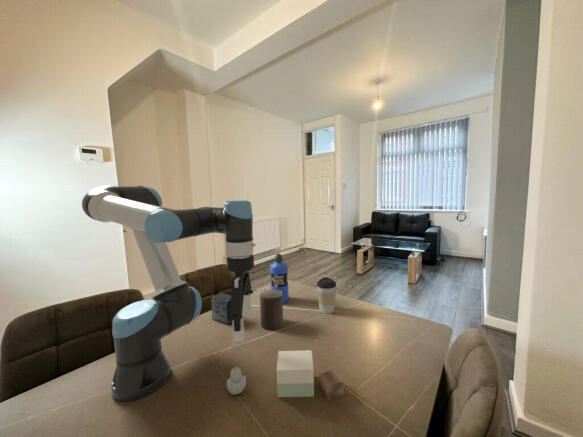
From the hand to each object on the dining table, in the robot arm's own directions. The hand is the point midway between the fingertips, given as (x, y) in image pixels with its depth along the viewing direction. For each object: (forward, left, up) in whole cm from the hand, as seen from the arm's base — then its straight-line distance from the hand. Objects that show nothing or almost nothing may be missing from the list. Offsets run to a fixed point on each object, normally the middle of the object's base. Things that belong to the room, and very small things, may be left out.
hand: (243, 326), depth 70 cm
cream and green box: (+15, -2, -17) cm, 23 cm away
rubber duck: (-2, -3, -18) cm, 18 cm away
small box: (-17, +37, -18) cm, 45 cm away
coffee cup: (+30, +43, -18) cm, 56 cm away
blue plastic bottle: (+7, +55, -18) cm, 59 cm away
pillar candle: (+5, +32, -18) cm, 37 cm away
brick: (+25, -4, -18) cm, 31 cm away
